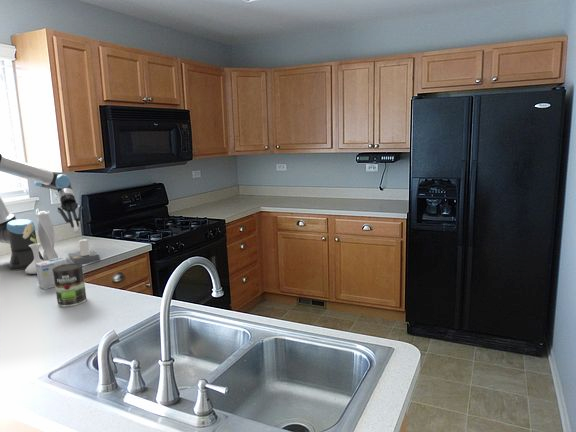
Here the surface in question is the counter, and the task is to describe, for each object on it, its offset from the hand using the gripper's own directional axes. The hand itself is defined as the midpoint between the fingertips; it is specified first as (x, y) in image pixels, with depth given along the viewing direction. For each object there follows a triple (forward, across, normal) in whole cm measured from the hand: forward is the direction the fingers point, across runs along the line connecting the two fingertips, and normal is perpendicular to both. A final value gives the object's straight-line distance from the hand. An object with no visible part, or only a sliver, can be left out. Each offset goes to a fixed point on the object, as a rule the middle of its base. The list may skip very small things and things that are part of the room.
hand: (76, 231), depth 233 cm
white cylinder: (+18, 0, +3) cm, 18 cm away
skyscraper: (+8, +14, -12) cm, 20 cm away
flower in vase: (+24, +22, +4) cm, 32 cm away
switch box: (+18, 0, -2) cm, 18 cm away
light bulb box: (+42, +18, +22) cm, 51 cm away
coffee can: (+63, +16, +43) cm, 77 cm away
